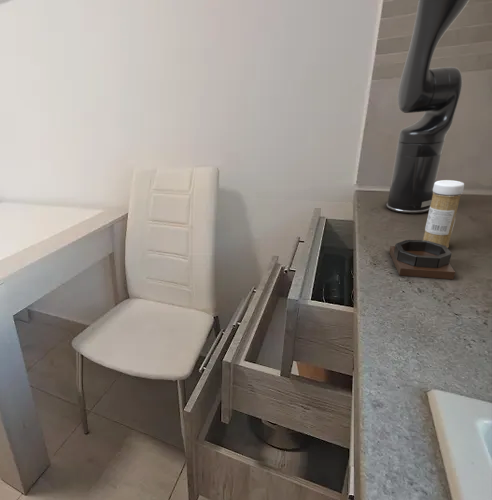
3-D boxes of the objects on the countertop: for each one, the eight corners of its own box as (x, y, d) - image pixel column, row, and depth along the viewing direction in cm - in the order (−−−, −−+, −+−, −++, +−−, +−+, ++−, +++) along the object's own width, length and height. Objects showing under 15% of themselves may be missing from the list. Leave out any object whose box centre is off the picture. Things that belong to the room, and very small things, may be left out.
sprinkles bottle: (452, 245, 75) (469, 181, 70) (442, 252, 73) (459, 186, 68) (426, 239, 79) (440, 178, 74) (416, 246, 77) (430, 183, 71)
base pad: (389, 252, 76) (392, 236, 74) (437, 255, 73) (440, 239, 71) (399, 275, 67) (402, 258, 66) (453, 279, 64) (458, 261, 63)
